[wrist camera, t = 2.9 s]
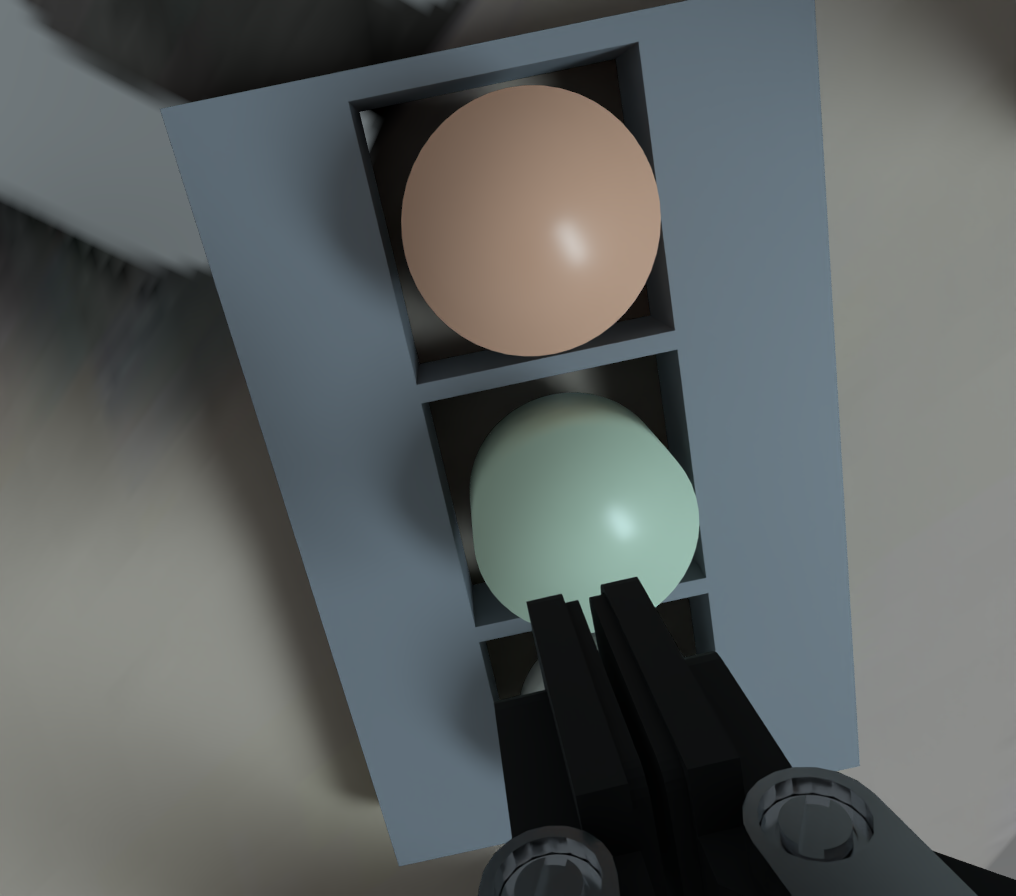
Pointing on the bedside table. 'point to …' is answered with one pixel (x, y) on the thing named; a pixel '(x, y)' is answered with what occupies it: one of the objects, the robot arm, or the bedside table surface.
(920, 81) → the bedside table surface
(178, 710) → the bedside table surface
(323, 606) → the button board
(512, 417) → the sage button
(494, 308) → the terracotta button
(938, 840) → the bedside table surface
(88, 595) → the bedside table surface
